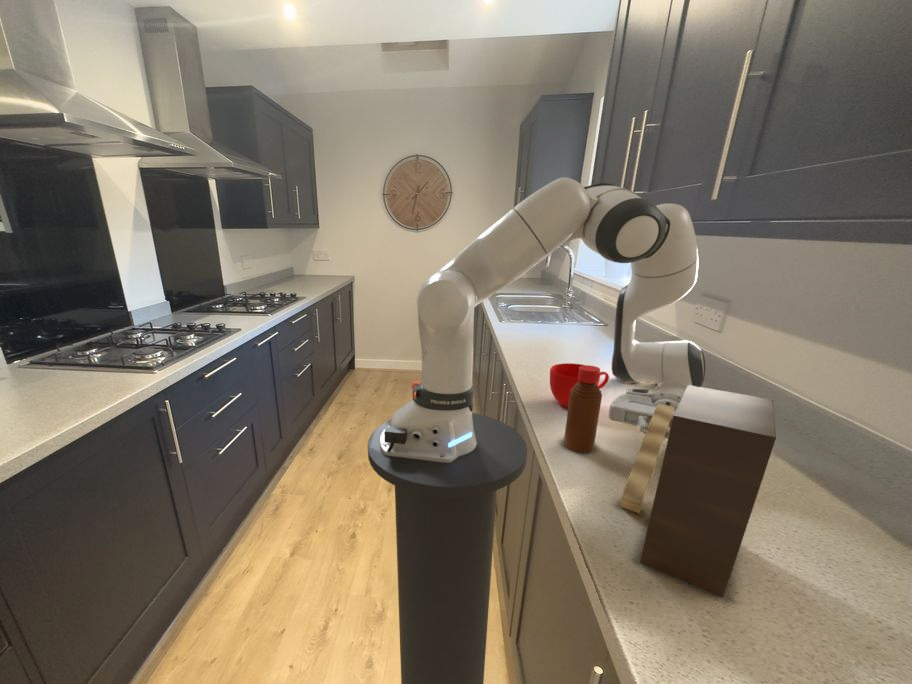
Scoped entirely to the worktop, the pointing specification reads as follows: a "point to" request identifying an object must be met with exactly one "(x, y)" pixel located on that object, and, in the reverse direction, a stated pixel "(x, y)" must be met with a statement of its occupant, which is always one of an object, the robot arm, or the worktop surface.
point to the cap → (588, 374)
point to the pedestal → (708, 485)
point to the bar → (647, 459)
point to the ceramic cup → (567, 381)
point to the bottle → (582, 417)
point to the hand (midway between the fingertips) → (656, 432)
